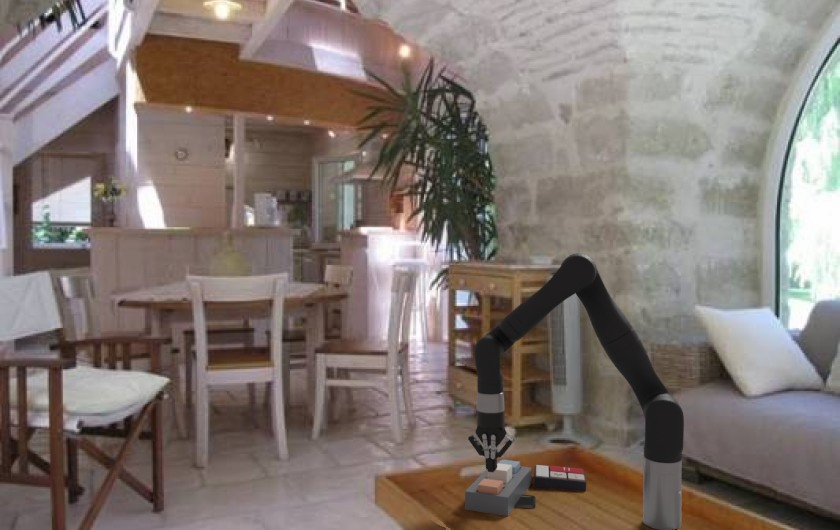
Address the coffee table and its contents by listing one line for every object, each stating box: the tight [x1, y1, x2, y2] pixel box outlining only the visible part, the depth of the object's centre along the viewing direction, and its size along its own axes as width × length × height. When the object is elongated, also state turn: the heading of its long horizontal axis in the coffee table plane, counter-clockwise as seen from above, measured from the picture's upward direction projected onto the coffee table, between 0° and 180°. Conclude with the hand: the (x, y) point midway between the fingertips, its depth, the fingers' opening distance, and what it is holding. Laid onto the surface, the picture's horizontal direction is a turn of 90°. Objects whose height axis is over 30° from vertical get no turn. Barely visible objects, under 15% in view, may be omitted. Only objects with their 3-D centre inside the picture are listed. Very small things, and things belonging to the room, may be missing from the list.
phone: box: [514, 494, 537, 509], centre depth 198 cm, size 8×1×15 cm
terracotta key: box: [478, 478, 503, 495], centre depth 194 cm, size 6×6×4 cm
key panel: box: [464, 465, 533, 517], centre depth 202 cm, size 12×26×5 cm, turn 157°
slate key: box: [498, 459, 521, 474], centre depth 210 cm, size 6×6×4 cm
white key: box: [488, 462, 512, 484], centre depth 202 cm, size 6×6×4 cm
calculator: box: [533, 464, 587, 492], centre depth 213 cm, size 11×4×15 cm
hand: (491, 471), depth 194 cm, fingers closed
